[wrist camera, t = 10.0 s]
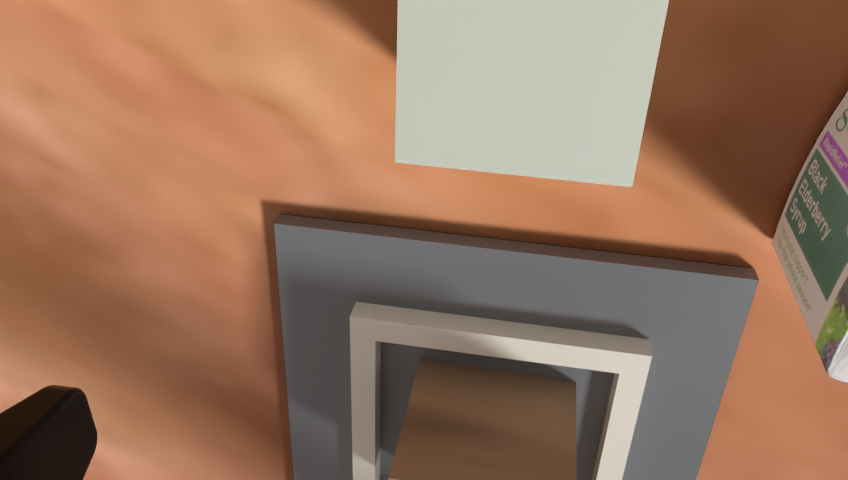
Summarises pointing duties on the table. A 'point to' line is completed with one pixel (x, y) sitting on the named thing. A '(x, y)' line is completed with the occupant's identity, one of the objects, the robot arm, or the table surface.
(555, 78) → the sage block
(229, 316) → the table surface
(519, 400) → the walnut block
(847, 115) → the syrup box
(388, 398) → the square panel
